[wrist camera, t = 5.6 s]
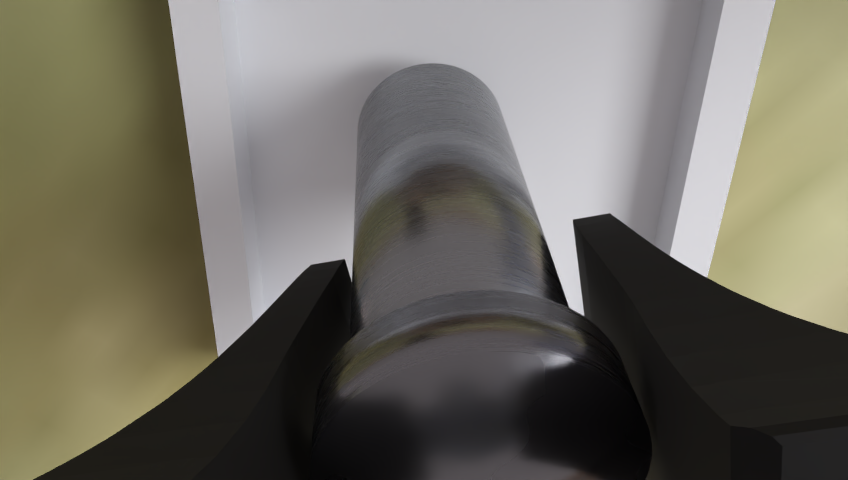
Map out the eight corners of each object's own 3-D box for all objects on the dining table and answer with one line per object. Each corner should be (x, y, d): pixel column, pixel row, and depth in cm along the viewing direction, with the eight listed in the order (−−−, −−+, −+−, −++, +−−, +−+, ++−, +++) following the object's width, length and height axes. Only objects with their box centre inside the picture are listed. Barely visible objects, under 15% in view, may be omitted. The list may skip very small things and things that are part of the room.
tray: (762, -110, 15) (801, -105, 13) (658, 356, 21) (677, 398, 19) (181, -127, 15) (150, -123, 13) (238, 344, 21) (222, 385, 19)
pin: (504, 22, 15) (640, 314, 7) (533, 187, 17) (660, 539, 9) (314, 71, 15) (257, 397, 8) (368, 227, 17) (364, 596, 10)
